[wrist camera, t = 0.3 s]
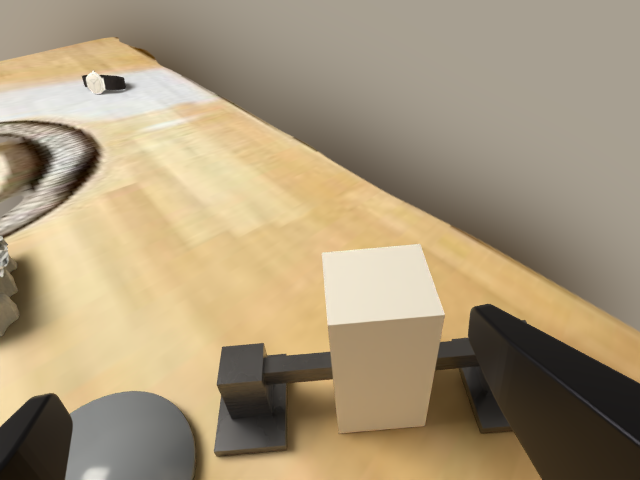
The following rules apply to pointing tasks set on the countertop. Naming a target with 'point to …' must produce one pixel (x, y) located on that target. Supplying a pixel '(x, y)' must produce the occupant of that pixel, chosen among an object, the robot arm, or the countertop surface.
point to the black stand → (277, 370)
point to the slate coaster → (131, 440)
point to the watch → (103, 82)
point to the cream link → (381, 336)
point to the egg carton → (7, 289)
